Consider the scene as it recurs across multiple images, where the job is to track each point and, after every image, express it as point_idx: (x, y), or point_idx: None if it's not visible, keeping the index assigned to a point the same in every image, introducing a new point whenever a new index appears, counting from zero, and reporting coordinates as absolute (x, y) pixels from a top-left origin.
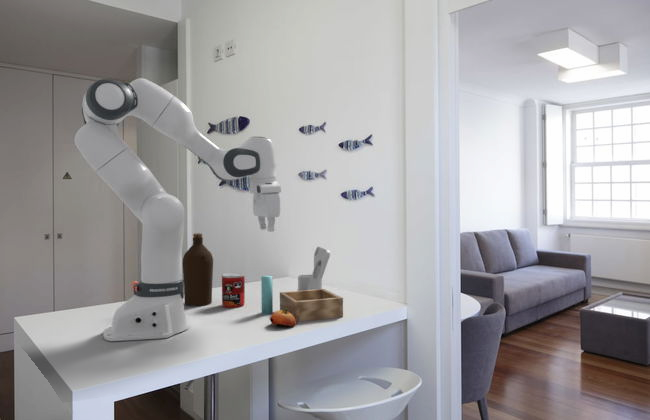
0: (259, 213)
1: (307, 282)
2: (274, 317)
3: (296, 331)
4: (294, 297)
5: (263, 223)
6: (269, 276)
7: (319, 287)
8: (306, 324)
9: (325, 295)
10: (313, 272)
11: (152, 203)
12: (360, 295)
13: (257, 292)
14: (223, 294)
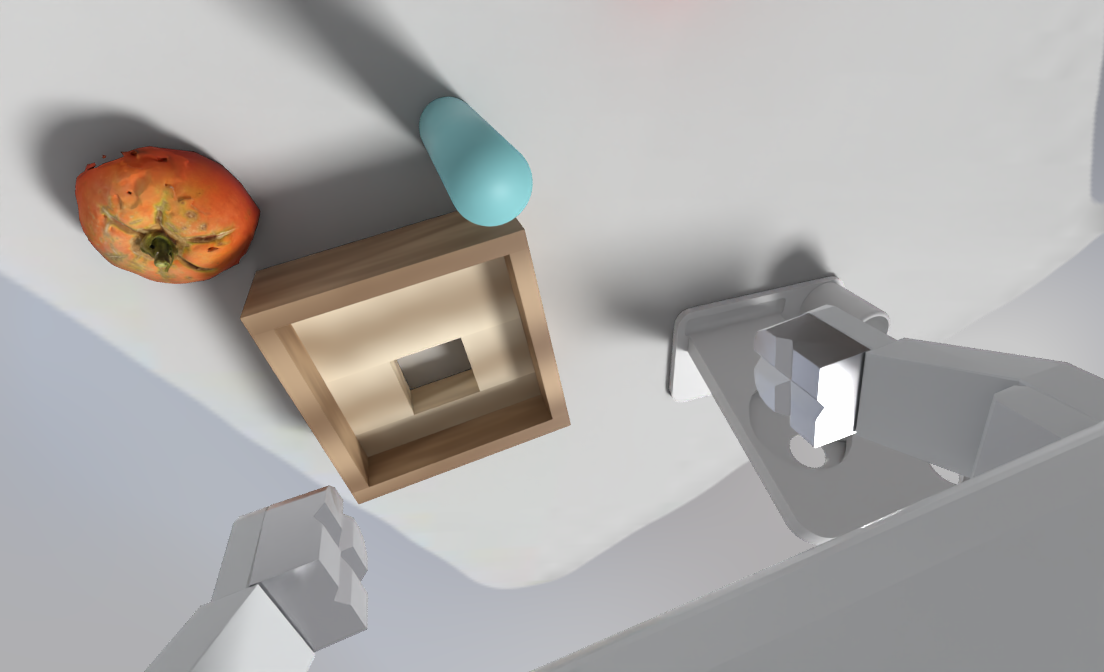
0: (855, 631)
1: None
2: (92, 181)
3: (56, 276)
4: (515, 291)
5: (870, 411)
6: (496, 204)
7: None
8: (211, 319)
9: (506, 422)
10: None
11: None
12: (673, 483)
13: (898, 83)
14: None
